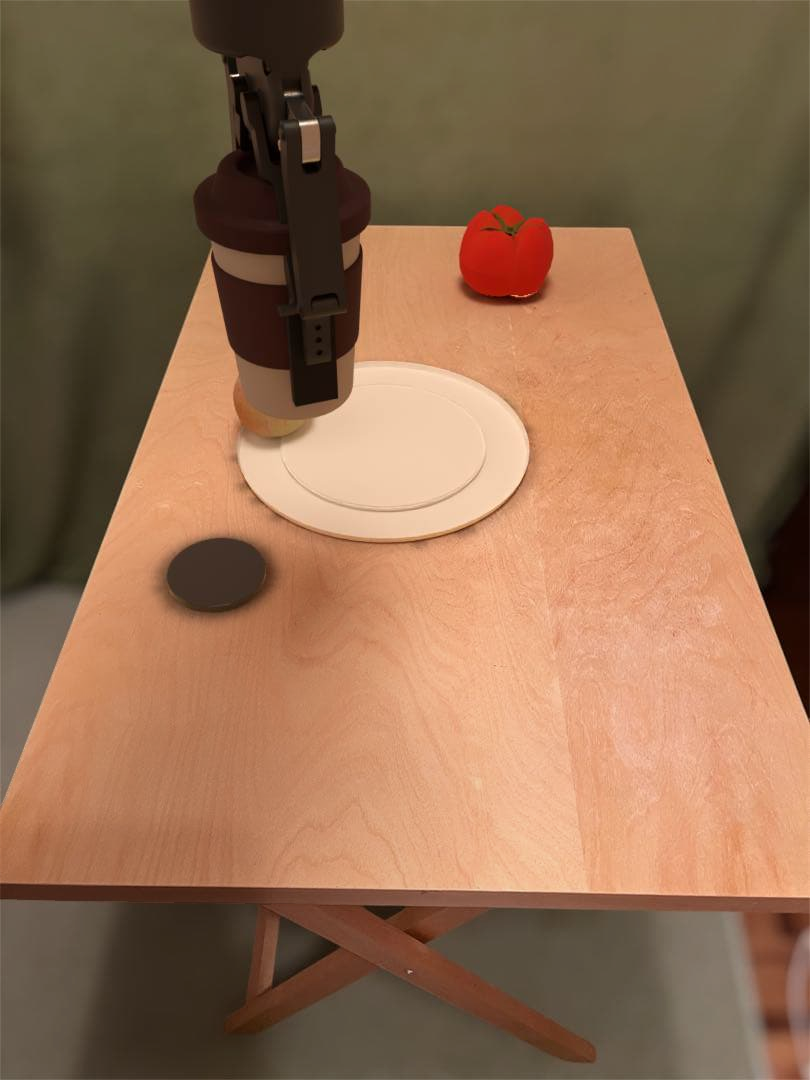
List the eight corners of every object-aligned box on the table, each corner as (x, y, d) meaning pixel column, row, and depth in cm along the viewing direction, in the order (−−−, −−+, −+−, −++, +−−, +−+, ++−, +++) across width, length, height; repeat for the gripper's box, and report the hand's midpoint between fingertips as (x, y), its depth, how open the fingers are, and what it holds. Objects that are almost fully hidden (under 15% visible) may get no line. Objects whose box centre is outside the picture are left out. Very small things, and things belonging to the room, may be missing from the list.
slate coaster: (178, 624, 71) (176, 617, 71) (159, 557, 77) (158, 550, 76) (277, 598, 73) (277, 591, 73) (252, 535, 79) (252, 528, 78)
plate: (569, 412, 93) (570, 406, 92) (453, 586, 75) (454, 580, 74) (332, 341, 102) (332, 336, 101) (176, 481, 84) (175, 475, 83)
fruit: (270, 397, 93) (263, 328, 88) (327, 422, 91) (324, 352, 85) (220, 434, 89) (209, 363, 83) (279, 461, 86) (272, 389, 80)
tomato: (438, 284, 113) (442, 213, 106) (511, 259, 118) (519, 190, 112) (494, 320, 106) (502, 247, 100) (569, 292, 112) (580, 221, 106)
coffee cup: (370, 437, 57) (367, 201, 46) (211, 435, 57) (172, 198, 46) (375, 352, 64) (373, 130, 54) (234, 350, 64) (204, 128, 54)
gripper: (416, -3, 37) (407, 443, 53) (282, -94, 51) (306, 278, 67) (234, 12, 35) (281, 471, 51) (147, -87, 49) (204, 295, 65)
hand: (295, 361), depth 59 cm, fingers closed on coffee cup, 8 cm apart
